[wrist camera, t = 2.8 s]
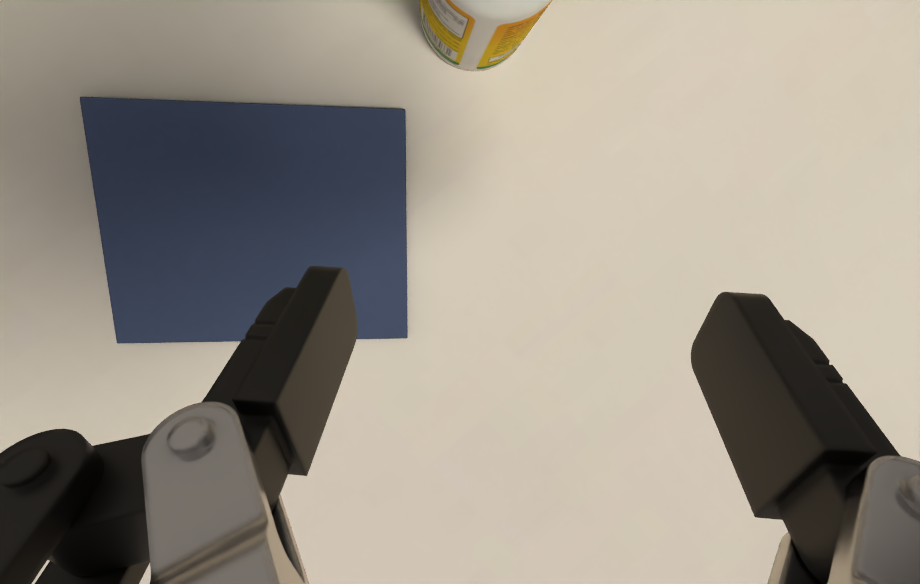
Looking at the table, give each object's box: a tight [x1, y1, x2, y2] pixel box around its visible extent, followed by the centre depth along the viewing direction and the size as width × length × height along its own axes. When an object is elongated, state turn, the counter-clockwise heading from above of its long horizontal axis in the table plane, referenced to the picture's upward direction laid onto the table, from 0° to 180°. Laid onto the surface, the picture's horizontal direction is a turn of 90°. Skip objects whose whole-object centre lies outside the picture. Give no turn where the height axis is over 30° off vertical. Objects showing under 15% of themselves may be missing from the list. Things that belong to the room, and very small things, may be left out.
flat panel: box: [80, 97, 407, 343], centre depth 22 cm, size 12×15×1 cm
